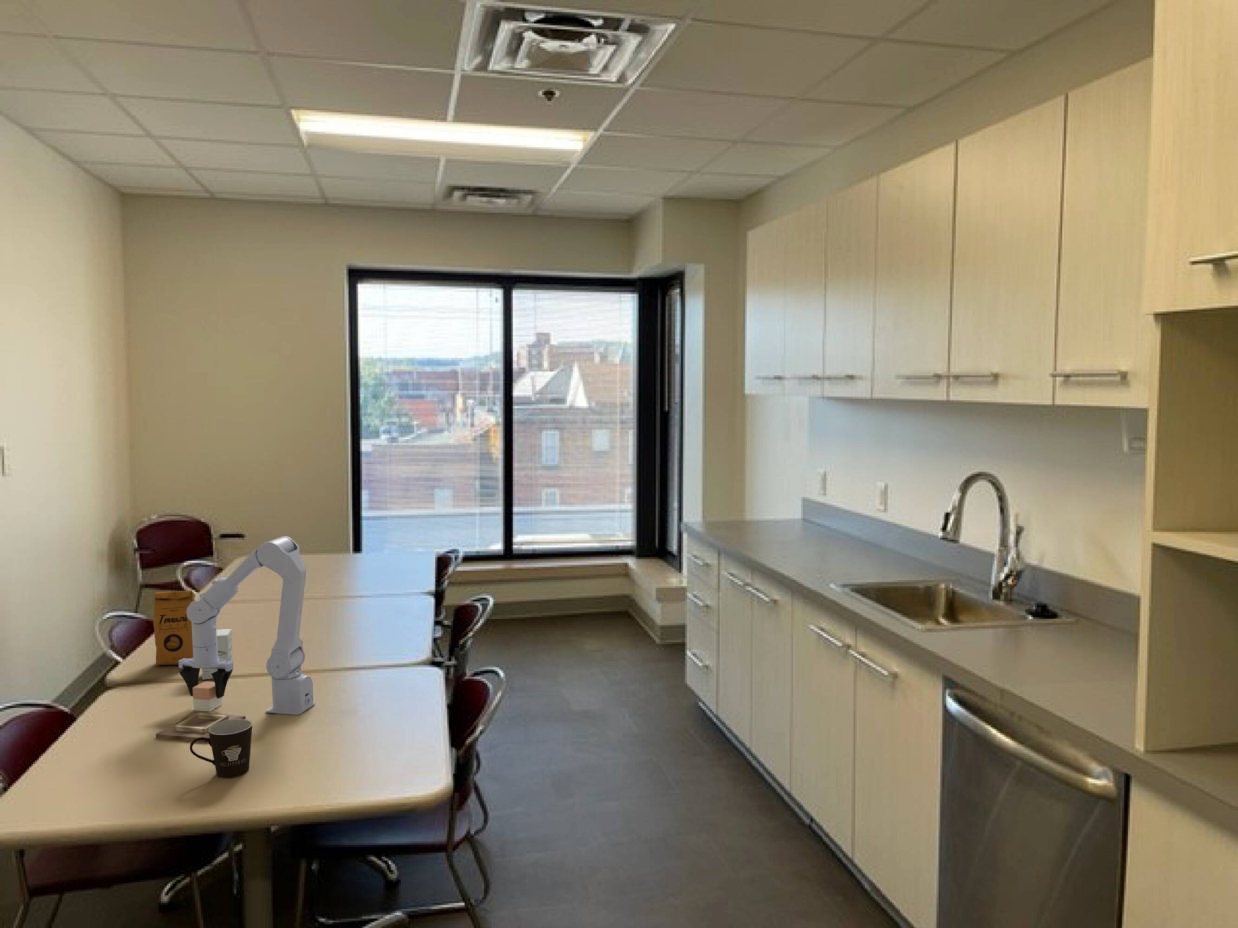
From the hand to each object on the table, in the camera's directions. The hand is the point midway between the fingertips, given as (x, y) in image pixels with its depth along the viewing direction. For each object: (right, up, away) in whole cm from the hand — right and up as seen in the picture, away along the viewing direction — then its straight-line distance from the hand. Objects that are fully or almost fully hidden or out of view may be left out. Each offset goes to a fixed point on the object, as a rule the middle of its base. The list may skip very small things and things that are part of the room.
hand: (207, 695), depth 225 cm
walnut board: (+5, -4, -14) cm, 16 cm away
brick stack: (0, -3, 0) cm, 3 cm away
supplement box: (-9, -1, +26) cm, 27 cm away
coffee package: (-26, 0, +37) cm, 45 cm away
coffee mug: (+22, -7, -38) cm, 44 cm away
